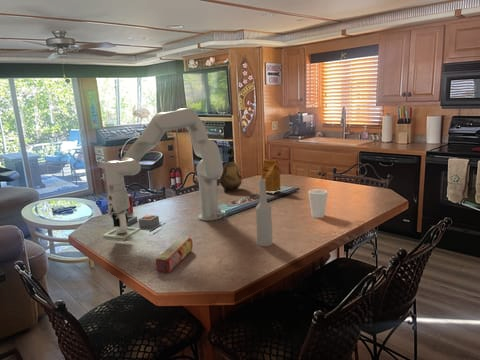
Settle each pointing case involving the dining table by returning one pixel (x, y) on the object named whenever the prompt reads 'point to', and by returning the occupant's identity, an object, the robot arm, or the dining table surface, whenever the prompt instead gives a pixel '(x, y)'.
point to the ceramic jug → (231, 174)
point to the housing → (143, 222)
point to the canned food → (130, 203)
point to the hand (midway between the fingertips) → (121, 224)
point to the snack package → (174, 254)
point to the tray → (120, 236)
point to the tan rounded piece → (148, 217)
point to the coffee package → (271, 175)
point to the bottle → (263, 218)
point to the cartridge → (122, 222)
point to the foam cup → (318, 202)
